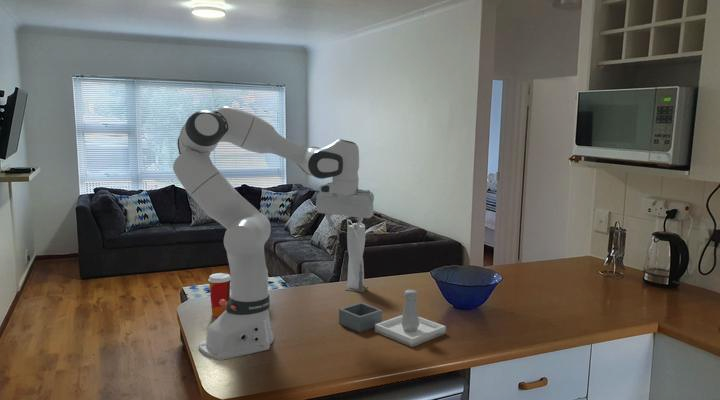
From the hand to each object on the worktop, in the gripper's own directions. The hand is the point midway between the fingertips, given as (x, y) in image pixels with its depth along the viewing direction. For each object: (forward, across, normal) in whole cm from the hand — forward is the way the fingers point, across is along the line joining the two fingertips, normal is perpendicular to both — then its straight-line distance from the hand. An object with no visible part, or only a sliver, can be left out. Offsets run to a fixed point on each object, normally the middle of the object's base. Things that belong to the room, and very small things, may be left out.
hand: (343, 228), depth 187 cm
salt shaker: (+30, -27, +5) cm, 40 cm away
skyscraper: (+31, +7, -30) cm, 44 cm away
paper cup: (+32, +38, +17) cm, 53 cm away
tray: (+30, -27, +5) cm, 41 cm away
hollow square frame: (+31, -9, +5) cm, 32 cm away
